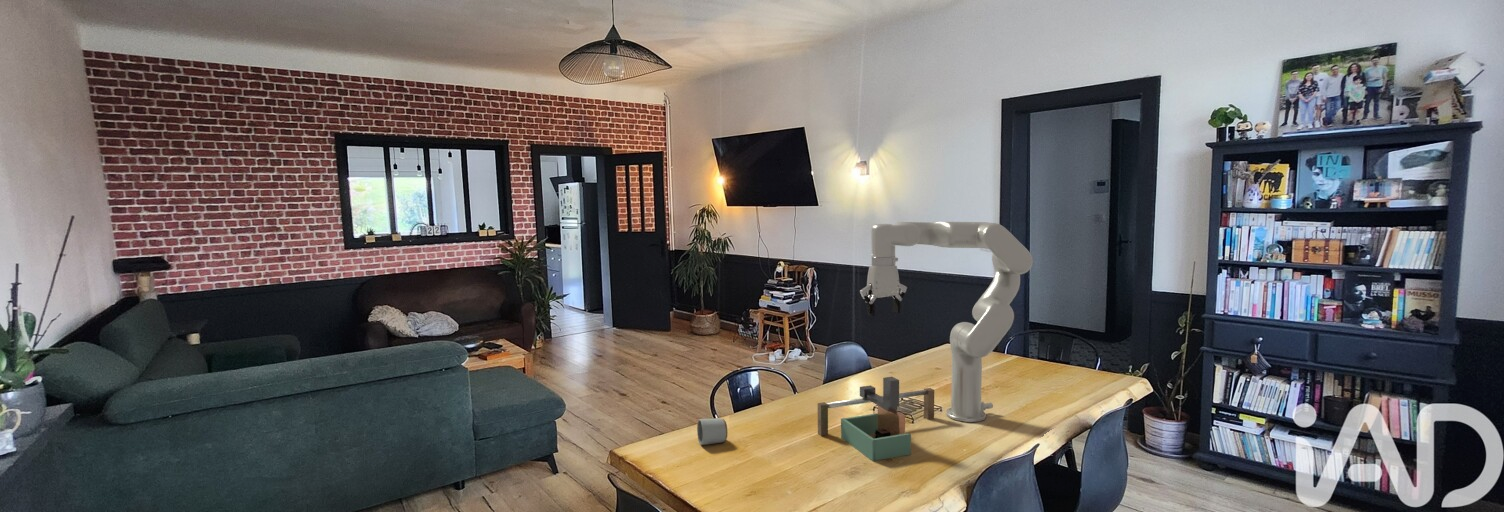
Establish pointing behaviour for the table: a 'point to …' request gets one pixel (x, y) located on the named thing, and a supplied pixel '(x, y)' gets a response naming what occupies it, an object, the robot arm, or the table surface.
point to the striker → (887, 405)
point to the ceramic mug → (711, 431)
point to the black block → (881, 433)
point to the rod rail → (824, 406)
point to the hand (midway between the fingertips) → (883, 313)
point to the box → (874, 449)
